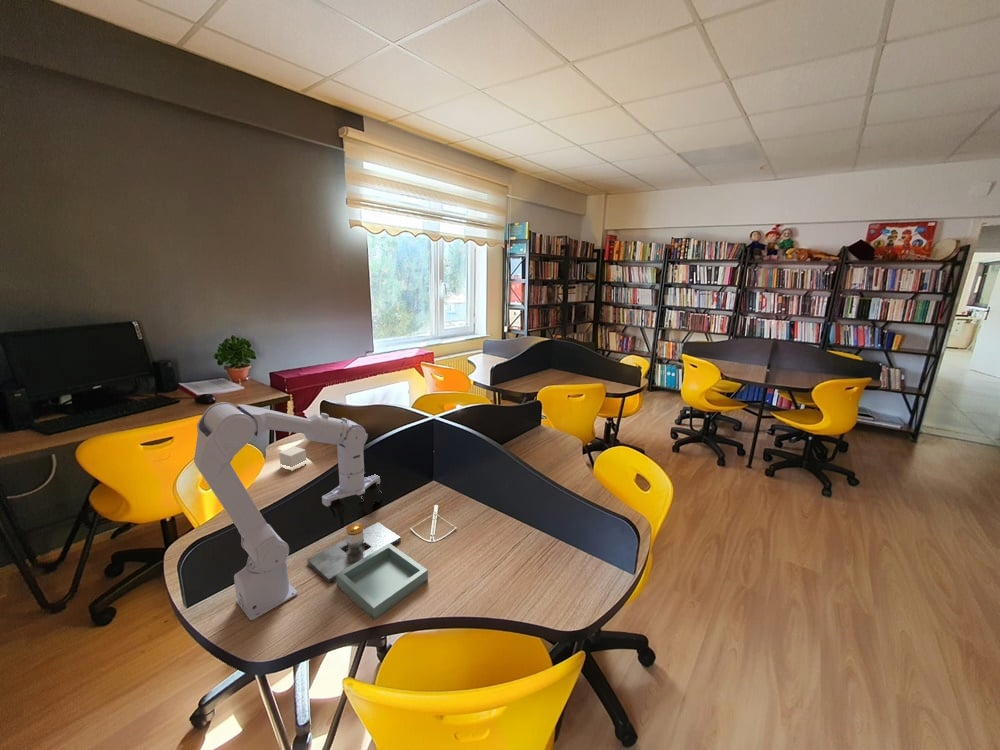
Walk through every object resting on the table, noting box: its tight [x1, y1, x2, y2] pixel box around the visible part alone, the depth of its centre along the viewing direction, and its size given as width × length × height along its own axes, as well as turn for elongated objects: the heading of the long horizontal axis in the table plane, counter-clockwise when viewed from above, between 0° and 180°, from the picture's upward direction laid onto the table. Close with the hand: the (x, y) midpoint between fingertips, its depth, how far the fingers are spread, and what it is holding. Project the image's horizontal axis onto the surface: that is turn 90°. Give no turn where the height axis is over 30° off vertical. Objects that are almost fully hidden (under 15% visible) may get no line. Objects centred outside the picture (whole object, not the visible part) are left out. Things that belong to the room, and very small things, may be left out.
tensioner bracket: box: [306, 521, 402, 584], centre depth 102 cm, size 20×10×1 cm, turn 141°
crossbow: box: [409, 504, 457, 543], centre depth 115 cm, size 16×13×2 cm
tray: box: [335, 543, 429, 621], centre depth 92 cm, size 14×14×3 cm
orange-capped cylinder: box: [345, 522, 365, 558], centre depth 102 cm, size 4×4×7 cm
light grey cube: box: [278, 445, 307, 467], centre depth 144 cm, size 6×6×6 cm
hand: (354, 519), depth 100 cm, fingers open, 7 cm apart
